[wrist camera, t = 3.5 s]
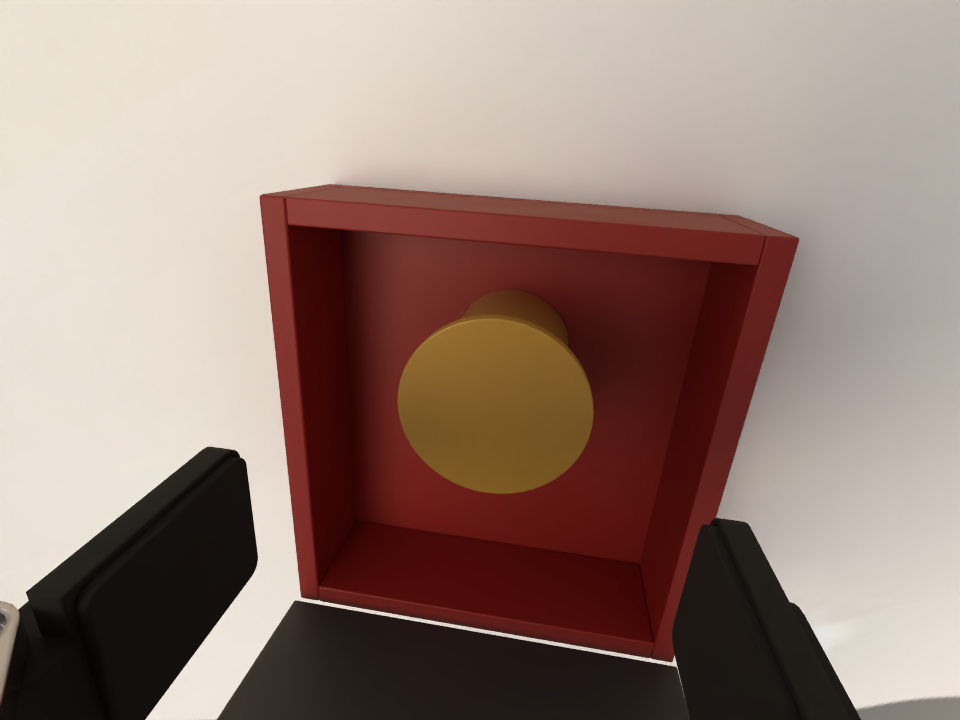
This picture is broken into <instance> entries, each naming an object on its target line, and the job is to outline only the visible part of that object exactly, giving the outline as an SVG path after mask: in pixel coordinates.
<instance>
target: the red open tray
mask: <svg viewBox="0 0 960 720" xmlns="http://www.w3.org/2000/svg"><path fill="white" fill-rule="evenodd" d="M260 206H261V216H262V225H263V235H264V245H265V254H266V264H267V274H268V283H269V293H270V302H271V312H272V322H273V331H274V341H275V350H276V360H277V370H278V379H279V389H280V399H281V408H282V418H283V427H284V437H285V447H286V456H287V466H288V475H289V485H290V495H291V504H292V514H293V524H294V533H295V543H296V552H297V562H298V572H299V581H300V591H301V597H302V598H307V599H313V600H319V599H320V601H323V602H329V603H334V604H340V605H346V606H352V607H357V608H363V609H369V610H375V611H380V612H386V613H392V614H398V615H403V616H409V617H415V618H421V619H426V620H432V621H438V622H444V623H450V624H455V625H461V626H467V627H473V628H478V629H484V630H490V631H496V632H501V633H507V634H513V635H519V636H524V637H530V638H536V639H542V640H547V641H553V642H559V643H565V644H571V645H576V646H582V647H588V648H594V649H599V650H605V651H611V652H617V653H622V654H628V655H634V656H640V657H645V658H650V657H651V659H655V660H661V661H667V662H673V658H674V655H675V653H674V649H673V644H672V628H673V623H674V620H675V616H676V612H677V609H678V605H679V602H680V598H681V594H682V591H683V587H684V584H685V580H686V576H687V573H688V569H689V566H690V562H691V558H692V555H693V551H694V548H695V544H696V540H697V537H698V533H699V530H700V527H701V526H702V525H703V524H707V525H710V523H711V521H712V520H713V519H714V518H716V515H717V512H718V509H719V505H720V502H721V499H722V495H723V492H724V489H725V485H726V482H727V479H728V475H729V472H730V469H731V465H732V462H733V459H734V455H735V452H736V449H737V445H738V442H739V439H740V435H741V432H742V429H743V425H744V422H745V419H746V415H747V412H748V409H749V405H750V402H751V399H752V395H753V392H754V389H755V385H756V382H757V379H758V375H759V372H760V369H761V365H762V362H763V359H764V355H765V352H766V349H767V345H768V342H769V339H770V335H771V332H772V329H773V325H774V322H775V319H776V315H777V312H778V309H779V305H780V302H781V299H782V295H783V292H784V289H785V285H786V282H787V279H788V275H789V272H790V269H791V265H792V262H793V259H794V255H795V252H796V249H797V245H798V242H799V238H798V237H795V236H792V235H789V234H787V233H784V232H781V231H779V230H776V229H773V228H771V227H768V226H765V225H763V224H760V223H757V222H755V221H752V220H749V219H746V218H743V217H741V216H736V215H723V214H710V213H697V212H684V211H671V210H658V209H645V208H632V207H619V206H606V205H593V204H580V203H567V202H554V201H541V200H528V199H515V198H501V197H488V196H475V195H462V194H449V193H436V192H423V191H410V190H397V189H384V188H371V187H358V186H345V185H332V184H329V185H322V186H316V187H309V188H302V189H296V190H289V191H282V192H276V193H269V194H262V195H260ZM501 290H518V291H523V292H527V293H530V294H533V295H535V296H537V297H539V298H541V299H542V300H544V301H545V302H547V303H548V304H549V305H550V306H552V308H553V309H554V310H555V311H556V312H557V313H558V315H559V316H560V317H561V319H562V321H563V323H564V325H565V327H566V330H567V334H568V338H569V349H570V350H571V351H572V352H573V354H574V355H575V356H576V358H577V359H578V360H579V362H580V364H581V365H582V367H583V369H584V371H585V373H586V375H587V378H588V381H589V383H590V388H591V392H592V398H593V411H594V414H593V425H592V429H591V433H590V436H589V439H588V441H587V444H586V446H585V448H584V449H583V451H582V453H581V454H580V456H579V457H578V459H577V460H576V461H575V462H574V463H573V465H572V466H571V467H570V468H569V469H567V470H566V471H565V472H564V473H563V474H562V475H560V476H559V477H557V478H556V479H555V480H553V481H551V482H549V483H547V484H545V485H543V486H540V487H538V488H535V489H532V490H528V491H524V492H518V493H511V494H495V493H485V492H480V491H475V490H472V489H469V488H465V487H462V486H460V485H458V484H456V483H453V482H451V481H450V480H448V479H446V478H444V477H443V476H441V475H440V474H438V473H437V472H436V471H434V470H433V469H432V468H431V467H429V466H428V465H427V464H426V463H425V462H424V461H423V460H422V459H421V457H420V456H419V455H418V454H417V453H416V451H415V450H414V449H413V447H412V446H411V444H410V442H409V440H408V438H407V437H406V435H405V432H404V430H403V427H402V424H401V420H400V416H399V410H398V389H399V384H400V380H401V376H402V374H403V371H404V368H405V366H406V365H407V363H408V361H409V359H410V357H411V356H412V355H413V353H414V352H415V351H416V349H417V348H418V347H419V346H420V344H421V343H422V342H423V341H424V340H425V339H426V338H427V337H428V336H430V335H431V334H432V333H434V332H435V331H437V330H438V329H440V328H441V327H443V326H445V325H447V324H449V323H451V322H454V321H457V320H459V318H460V317H461V315H462V313H463V312H464V311H465V310H466V308H467V307H468V306H469V305H470V304H472V303H473V302H474V301H475V300H477V299H478V298H480V297H482V296H484V295H486V294H489V293H492V292H496V291H501Z"/></svg>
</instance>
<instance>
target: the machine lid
mask: <svg viewBox="0 0 960 720" xmlns="http://www.w3.org/2000/svg"><path fill="white" fill-rule="evenodd" d="M217 720H690V718H689V713H688V709H687V705H686V701H685V697H684V693H683V689H682V685H681V682H680V678H679V674H678V670H677V667H674V666H668V665H663V664H657V663H651V662H645V661H640V660H634V659H628V658H622V657H617V656H611V655H605V654H599V653H594V652H588V651H582V650H577V649H571V648H565V647H559V646H554V645H548V644H542V643H536V642H531V641H525V640H519V639H513V638H508V637H502V636H496V635H491V634H485V633H479V632H473V631H468V630H462V629H456V628H450V627H445V626H439V625H433V624H427V623H422V622H416V621H410V620H405V619H399V618H393V617H387V616H382V615H376V614H370V613H364V612H359V611H353V610H347V609H341V608H336V607H330V606H324V605H319V604H313V603H307V602H301V601H294V602H293V604H292V605H291V607H290V609H289V610H288V612H287V613H286V615H285V616H284V618H283V619H282V621H281V622H280V624H279V625H278V627H277V628H276V630H275V631H274V633H273V635H272V636H271V638H270V639H269V641H268V642H267V644H266V645H265V647H264V648H263V650H262V651H261V653H260V654H259V656H258V658H257V659H256V661H255V662H254V664H253V665H252V667H251V668H250V670H249V671H248V673H247V674H246V676H245V677H244V679H243V680H242V682H241V684H240V685H239V687H238V688H237V690H236V691H235V693H234V694H233V696H232V697H231V699H230V700H229V702H228V703H227V705H226V706H225V708H224V710H223V711H222V713H221V714H220V716H219V717H218V719H217Z"/></svg>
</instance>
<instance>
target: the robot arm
mask: <svg viewBox="0 0 960 720" xmlns="http://www.w3.org/2000/svg"><path fill="white" fill-rule="evenodd" d="M257 561H258V554H257V546H256V538H255V530H254V522H253V514H252V506H251V498H250V490H249V482H248V474H247V466H246V462H245V460H244V459H242V458H240V455H239V454H238V452H237V451H235V450H230V449H223V448H216V447H206V448H205V449H203V450H202V451H200V452H199V453H198V454H197V455H195V456H194V457H193V458H192V459H190V460H189V461H188V462H187V463H186V464H184V465H183V466H182V467H181V468H179V469H178V470H177V471H176V472H174V473H173V474H172V475H171V476H169V477H168V478H167V479H166V480H164V481H163V482H162V483H161V484H159V485H158V486H157V487H156V488H155V489H153V490H152V491H151V492H150V493H148V494H147V495H146V496H145V497H143V498H142V499H141V500H140V501H138V502H137V503H136V504H135V505H133V506H132V507H131V508H130V509H128V510H127V511H126V512H125V513H124V514H122V515H121V516H120V517H119V518H117V519H116V520H115V521H114V522H112V523H111V524H110V525H109V526H107V527H106V528H105V529H104V530H102V531H101V532H100V533H99V534H97V535H96V536H95V537H94V538H92V539H91V540H90V541H89V542H88V543H86V544H85V545H84V546H83V547H81V548H80V549H79V550H78V551H76V552H75V553H74V554H73V555H71V556H70V557H69V558H68V559H66V560H65V561H64V562H63V563H61V564H60V565H59V566H58V567H57V568H55V569H54V570H53V571H52V572H50V573H49V574H48V575H47V576H45V577H44V578H43V579H42V580H40V581H39V582H38V583H37V584H35V585H34V586H33V587H32V588H30V589H29V590H28V591H27V592H26V594H27V597H28V599H29V601H28V602H27V603H26V604H24V605H23V606H22V607H21V608H20V609H18V610H17V608H16V607H15V606H14V605H13V604H10V603H7V602H3V601H0V720H145V719H146V718H147V716H148V715H149V714H150V712H151V711H152V710H153V708H154V707H155V706H156V704H157V703H158V702H159V700H160V699H161V698H162V696H163V695H164V694H165V692H166V691H167V689H168V688H169V687H170V685H171V684H172V683H173V681H174V680H175V679H176V677H177V676H178V675H179V673H180V672H181V671H182V669H183V668H184V667H185V665H186V664H187V663H188V661H189V660H190V659H191V657H192V656H193V654H194V653H195V652H196V650H197V649H198V648H199V646H200V645H201V644H202V642H203V641H204V640H205V638H206V637H207V636H208V634H209V633H210V632H211V630H212V629H213V628H214V626H215V625H216V624H217V622H218V621H219V620H220V618H221V617H222V615H223V614H224V613H225V611H226V610H227V609H228V607H229V606H230V605H231V603H232V602H233V601H234V599H235V598H236V597H237V595H238V594H239V593H240V591H241V590H242V589H243V587H244V586H245V585H246V583H247V582H248V580H249V579H250V578H251V576H252V575H253V573H254V571H255V569H256V566H257ZM672 644H673V649H674V653H675V658H676V662H677V666H678V671H679V675H680V679H681V683H682V688H683V692H684V696H685V701H686V705H687V709H688V713H689V718H690V720H861V719H860V717H859V715H858V713H857V711H856V710H855V708H854V706H853V704H852V702H851V700H850V698H849V697H848V695H847V693H846V691H845V689H844V687H843V685H842V684H841V682H840V680H839V678H838V676H837V674H836V673H835V671H834V669H833V667H832V665H831V663H830V661H829V660H828V658H827V656H826V654H825V652H824V650H823V648H822V647H821V645H820V643H819V641H818V639H817V637H816V636H815V634H814V632H813V630H812V628H811V626H810V624H809V623H808V621H807V619H806V617H805V615H804V614H803V612H802V611H801V609H800V608H799V607H798V606H797V605H795V604H794V603H791V602H789V600H788V599H787V597H786V595H785V593H784V591H783V589H782V587H781V585H780V583H779V581H778V579H777V577H776V576H775V574H774V572H773V570H772V568H771V566H770V564H769V562H768V560H767V558H766V556H765V554H764V553H763V551H762V549H761V547H760V545H759V543H758V541H757V539H756V537H755V535H754V533H753V532H752V530H751V528H750V526H749V525H748V523H746V522H741V521H734V520H727V519H720V518H714V519H713V520H712V521H711V523H710V525H707V524H703V525H702V526H701V527H700V530H699V533H698V537H697V540H696V544H695V548H694V551H693V555H692V558H691V562H690V566H689V569H688V573H687V576H686V580H685V584H684V587H683V591H682V594H681V598H680V602H679V605H678V609H677V612H676V616H675V620H674V623H673V628H672Z"/></svg>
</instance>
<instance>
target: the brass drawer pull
mask: <svg viewBox="0 0 960 720" xmlns="http://www.w3.org/2000/svg"><path fill="white" fill-rule="evenodd" d="M398 410H399V416H400V420H401V424H402V427H403V430H404V432H405V435H406V437H407V438H408V440H409V442H410V444H411V446H412V447H413V449H414V450H415V451H416V453H417V454H418V455H419V456H420V457H421V459H422V460H423V461H424V462H425V463H426V464H427V465H428V466H429V467H431V468H432V469H433V470H434V471H436V472H437V473H438V474H440V475H441V476H443V477H444V478H446V479H448V480H450V481H451V482H453V483H456V484H458V485H460V486H462V487H465V488H469V489H472V490H475V491H480V492H485V493H495V494H511V493H518V492H524V491H528V490H532V489H535V488H538V487H540V486H543V485H545V484H547V483H549V482H551V481H553V480H555V479H556V478H557V477H559V476H560V475H562V474H563V473H564V472H565V471H566V470H567V469H569V468H570V467H571V466H572V465H573V463H574V462H575V461H576V460H577V459H578V457H579V456H580V454H581V453H582V451H583V449H584V448H585V446H586V444H587V441H588V439H589V436H590V433H591V429H592V425H593V414H594V411H593V398H592V392H591V388H590V383H589V381H588V378H587V375H586V373H585V371H584V369H583V367H582V365H581V364H580V362H579V360H578V359H577V358H576V356H575V355H574V354H573V352H572V351H571V350H570V349H569V338H568V334H567V330H566V327H565V325H564V323H563V321H562V319H561V317H560V316H559V315H558V313H557V312H556V311H555V310H554V309H553V308H552V306H550V305H549V304H548V303H547V302H545V301H544V300H542V299H541V298H539V297H537V296H535V295H533V294H530V293H527V292H523V291H518V290H501V291H496V292H492V293H489V294H486V295H484V296H482V297H480V298H478V299H477V300H475V301H474V302H473V303H472V304H470V305H469V306H468V307H467V308H466V310H465V311H464V312H463V313H462V315H461V317H460V318H459V320H457V321H454V322H451V323H449V324H447V325H445V326H443V327H441V328H440V329H438V330H437V331H435V332H434V333H432V334H431V335H430V336H428V337H427V338H426V339H425V340H424V341H423V342H422V343H421V344H420V346H419V347H418V348H417V349H416V351H415V352H414V353H413V355H412V356H411V357H410V359H409V361H408V363H407V365H406V366H405V368H404V371H403V374H402V376H401V380H400V384H399V389H398Z"/></svg>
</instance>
